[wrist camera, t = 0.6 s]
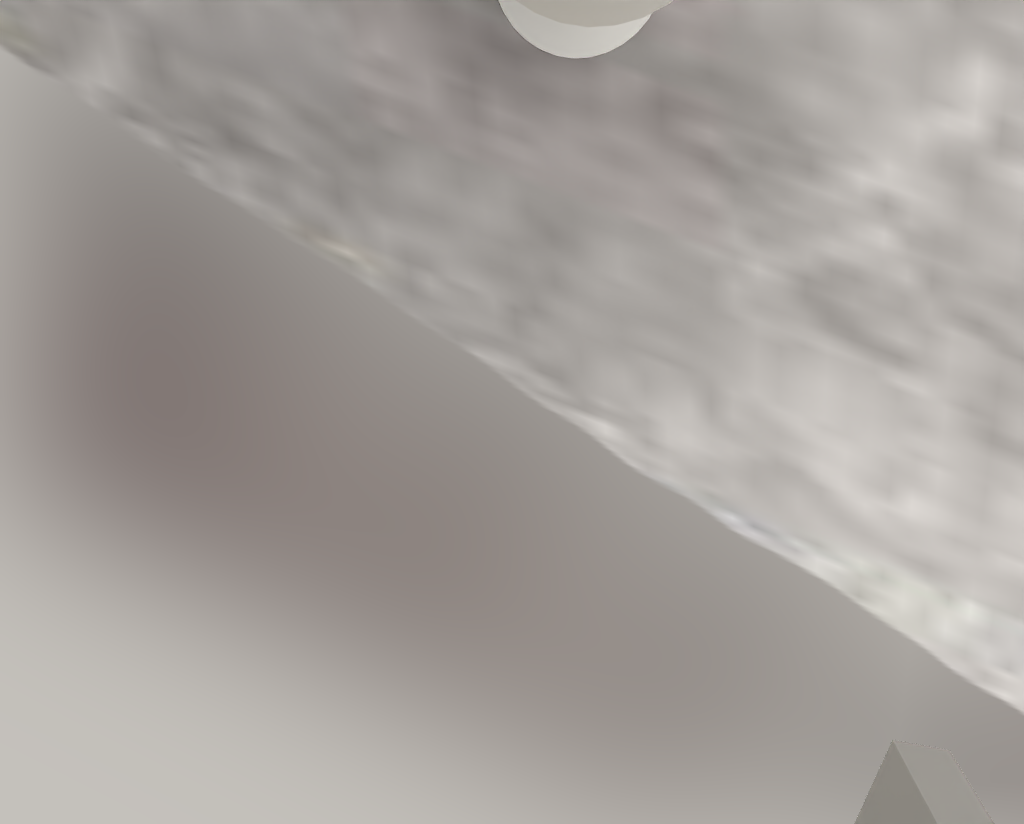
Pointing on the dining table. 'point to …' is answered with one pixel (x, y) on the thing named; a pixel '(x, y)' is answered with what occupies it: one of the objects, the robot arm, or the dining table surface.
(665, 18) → the dining table surface
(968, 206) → the dining table surface
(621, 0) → the champagne flute
